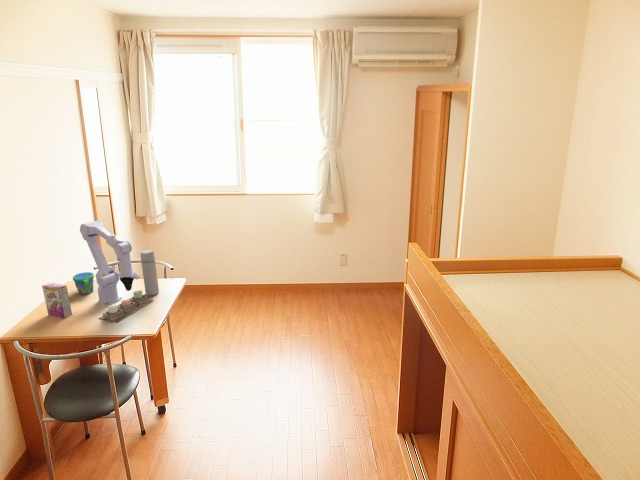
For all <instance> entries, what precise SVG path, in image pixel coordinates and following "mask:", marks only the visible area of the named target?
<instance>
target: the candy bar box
mask: <svg viewBox="0 0 640 480" xmlns="http://www.w3.org/2000/svg"><path fill="white" fill-rule="evenodd" d="M42 291H43V292H42V293H43V296H44V300H45V305H46V310H47V314H48V316H53V317H56V318H57V317H58V318H62V319H65V318H68V317H70V316H71V315H73V312H72V308H71V301H70V297H69V292H68V287H67V285H66V284H60V283H54V282H48V283H46V284H43V285H42Z"/></svg>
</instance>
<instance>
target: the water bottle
mask: <svg viewBox="0 0 640 480" xmlns="http://www.w3.org/2000/svg"><path fill="white" fill-rule="evenodd" d="M139 262H141V269H142V276H143V277H142V278H143V284H144V292H145V294H146V295H147V296H155V295H158V294H159V292H160V287H159V281H158V273H157V266H156V265H157V264H156V257H155V251H154V250H153V249H144V250H141V251H140V260H139Z"/></svg>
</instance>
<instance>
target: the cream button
mask: <svg viewBox="0 0 640 480" xmlns="http://www.w3.org/2000/svg"><path fill="white" fill-rule="evenodd" d="M117 305H118V304H116V303H113V304H109V305H108V306H107V311H108V313H109V314H111V315H114V314H116V313H118V307H117Z"/></svg>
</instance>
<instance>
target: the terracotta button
mask: <svg viewBox="0 0 640 480" xmlns="http://www.w3.org/2000/svg"><path fill="white" fill-rule="evenodd" d="M120 304H122V306H123V307H128V306H130V305H131V301H130V300H129V298H128V299H122V300H121V303H120Z"/></svg>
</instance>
